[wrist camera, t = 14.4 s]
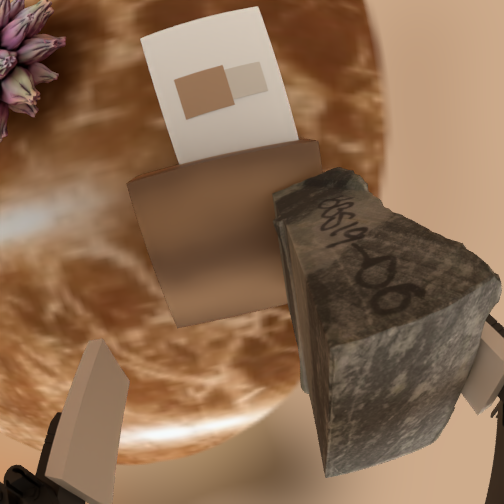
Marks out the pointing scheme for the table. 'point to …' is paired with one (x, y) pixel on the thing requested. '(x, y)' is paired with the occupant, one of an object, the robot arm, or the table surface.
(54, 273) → the table surface
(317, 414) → the stone block
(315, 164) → the base brick
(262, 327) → the table surface
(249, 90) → the page
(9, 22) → the flower
